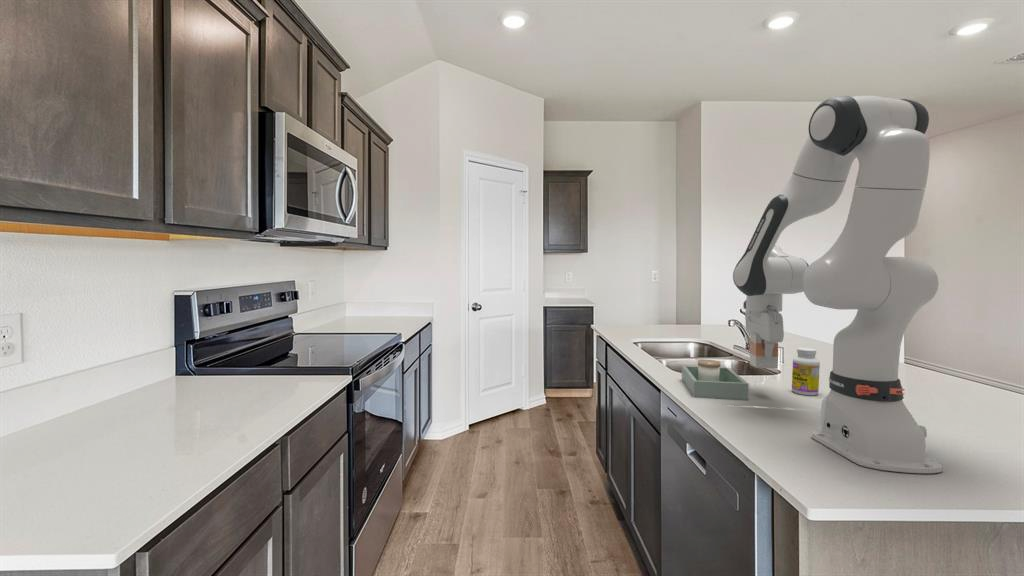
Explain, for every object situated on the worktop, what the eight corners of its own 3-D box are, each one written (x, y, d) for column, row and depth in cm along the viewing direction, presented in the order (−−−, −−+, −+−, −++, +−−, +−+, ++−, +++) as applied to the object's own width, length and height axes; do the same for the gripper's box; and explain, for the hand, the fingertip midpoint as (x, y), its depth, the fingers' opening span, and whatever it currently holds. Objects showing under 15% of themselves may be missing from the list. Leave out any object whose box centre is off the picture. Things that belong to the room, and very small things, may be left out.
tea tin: (777, 368, 129) (778, 335, 129) (755, 367, 130) (756, 335, 130) (770, 364, 134) (771, 333, 134) (749, 364, 136) (749, 332, 135)
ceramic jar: (722, 387, 141) (722, 364, 140) (699, 386, 142) (700, 363, 142) (717, 382, 147) (717, 360, 147) (695, 381, 148) (695, 359, 148)
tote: (747, 402, 129) (748, 383, 128) (693, 399, 131) (693, 381, 131) (728, 383, 148) (729, 367, 148) (681, 381, 151) (682, 365, 150)
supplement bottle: (786, 390, 140) (787, 347, 139) (803, 389, 142) (805, 346, 141) (806, 396, 134) (808, 351, 133) (824, 395, 136) (825, 350, 135)
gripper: (791, 307, 121) (790, 361, 121) (764, 302, 141) (763, 349, 141) (764, 306, 122) (763, 360, 123) (741, 302, 142) (741, 348, 143)
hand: (763, 354), depth 132 cm, fingers closed on tea tin, 6 cm apart
